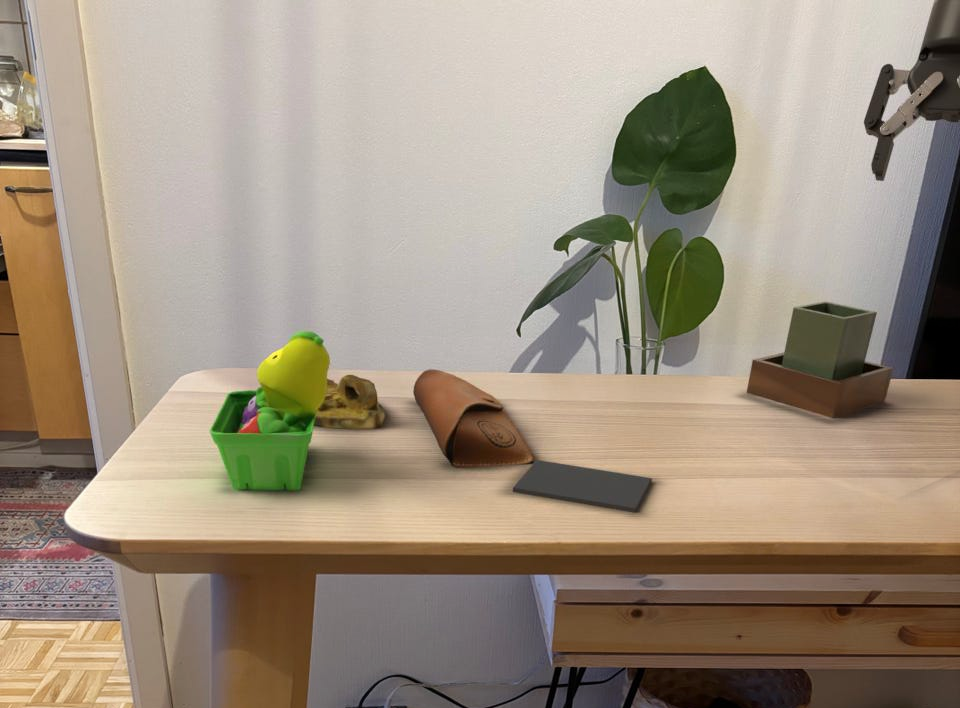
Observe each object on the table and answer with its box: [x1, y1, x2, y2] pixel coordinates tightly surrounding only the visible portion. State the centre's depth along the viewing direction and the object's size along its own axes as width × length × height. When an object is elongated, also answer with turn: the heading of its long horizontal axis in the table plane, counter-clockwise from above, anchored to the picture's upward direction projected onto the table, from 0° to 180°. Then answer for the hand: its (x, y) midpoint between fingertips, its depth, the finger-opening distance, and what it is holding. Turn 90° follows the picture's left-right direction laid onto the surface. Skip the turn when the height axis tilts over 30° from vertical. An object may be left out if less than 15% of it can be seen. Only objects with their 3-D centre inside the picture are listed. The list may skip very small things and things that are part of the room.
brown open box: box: [746, 352, 895, 419], centre depth 101 cm, size 10×10×4 cm
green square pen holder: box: [782, 301, 878, 381], centre depth 100 cm, size 6×6×9 cm
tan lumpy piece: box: [314, 374, 386, 430], centre depth 92 cm, size 9×5×15 cm
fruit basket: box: [209, 330, 331, 491], centre depth 76 cm, size 11×9×11 cm
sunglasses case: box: [412, 368, 535, 468], centre depth 88 cm, size 18×7×7 cm
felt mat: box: [512, 459, 653, 514], centre depth 78 cm, size 10×7×1 cm
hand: (922, 182), depth 97 cm, fingers open, 8 cm apart
